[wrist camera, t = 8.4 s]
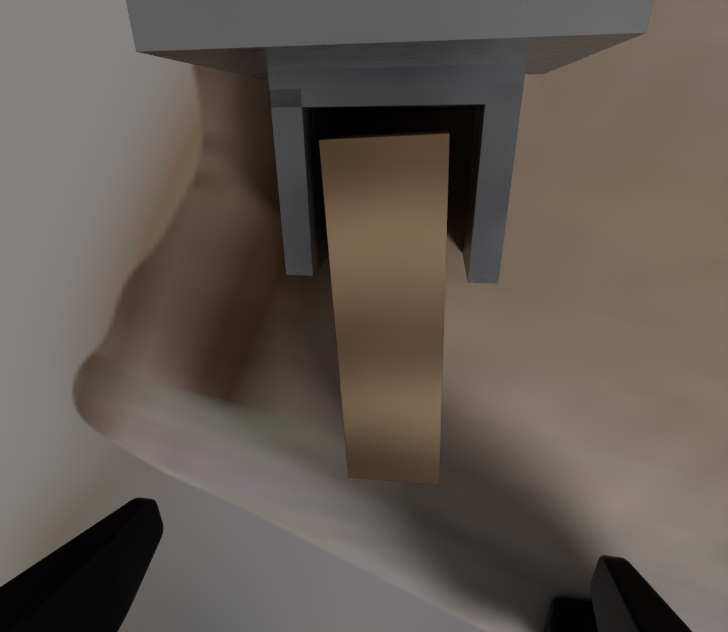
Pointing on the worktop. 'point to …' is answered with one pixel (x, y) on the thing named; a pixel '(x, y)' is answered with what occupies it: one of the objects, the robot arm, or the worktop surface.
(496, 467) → the worktop surface
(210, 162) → the worktop surface
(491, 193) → the bracket
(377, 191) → the rail
